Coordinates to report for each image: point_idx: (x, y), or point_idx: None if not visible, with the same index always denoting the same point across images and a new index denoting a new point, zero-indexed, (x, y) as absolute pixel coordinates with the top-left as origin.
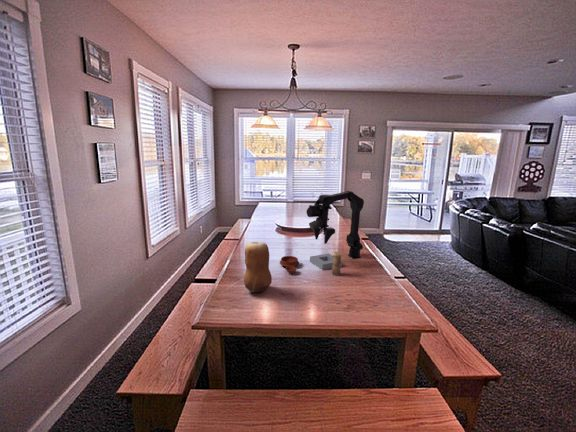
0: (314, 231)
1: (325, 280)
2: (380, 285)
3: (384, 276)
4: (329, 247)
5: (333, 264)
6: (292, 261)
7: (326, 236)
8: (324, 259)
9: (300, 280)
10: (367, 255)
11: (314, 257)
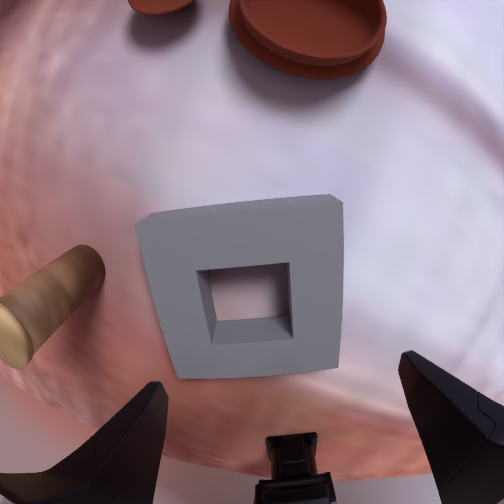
0: (498, 428)
1: (35, 173)
2: None
3: (79, 415)
4: None
5: (38, 271)
6: (340, 47)
7: (66, 476)
8: (290, 306)
9: (71, 38)
10: None
11: (306, 230)
